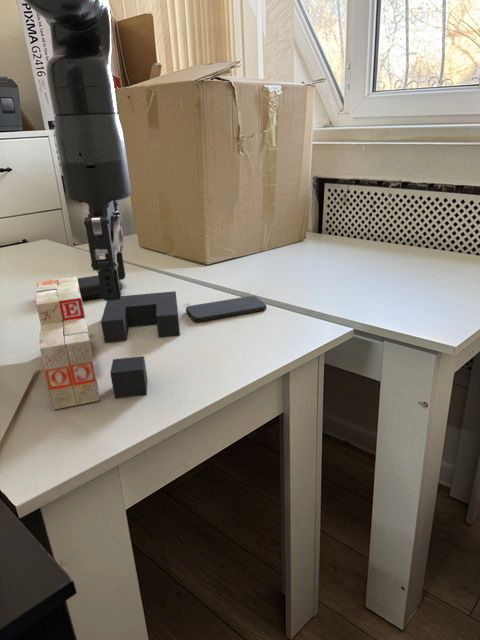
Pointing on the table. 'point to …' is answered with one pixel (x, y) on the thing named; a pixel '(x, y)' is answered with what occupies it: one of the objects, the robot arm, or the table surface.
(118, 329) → the notched block
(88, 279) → the carrying case
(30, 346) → the table surface
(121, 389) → the square block
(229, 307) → the phone
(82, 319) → the stack of blocks
